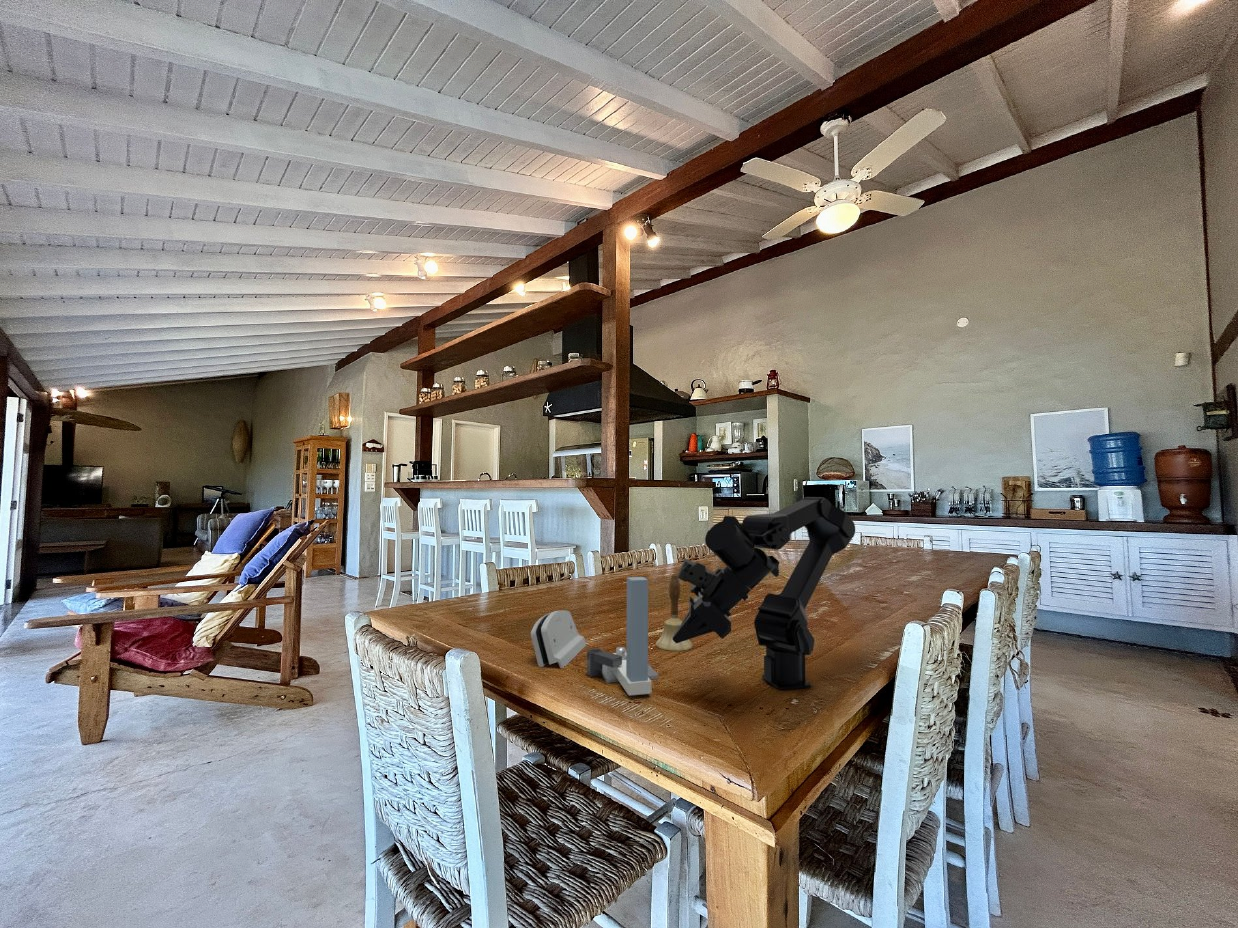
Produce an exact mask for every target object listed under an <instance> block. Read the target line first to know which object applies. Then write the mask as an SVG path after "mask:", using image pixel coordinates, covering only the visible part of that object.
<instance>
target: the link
mask: <svg viewBox="0 0 1238 928" xmlns="http://www.w3.org/2000/svg"><path fill="white" fill-rule="evenodd" d="M625 635H626V644H625V648H626V651H625V660H622V665H620V666H617V667H614V668H612V667H610V669H611V670H612V672H613V673H614V675H615V676H616V678H617V679H618V681H619V682H618V683H620V685H621V686H622V688H623V689H624V691H625V692H626V694H627V695H628V696H638V695H639V696H640V695H647V694H648V695H649V694H652V692H653V691H652V679H649V678H648V664H649V579H647V578H646V577H644V576H634V577H629V576H628V577H626V633H625ZM612 653H613V654H616V652H612Z"/></svg>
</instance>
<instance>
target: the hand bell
mask: <svg viewBox="0 0 1238 928" xmlns="http://www.w3.org/2000/svg"><path fill="white" fill-rule="evenodd" d="M668 585H669V586H668V593H669V594H668V595H669V599H670V603H671V604H670V605H671V606H670V617H669V618H668V619H665V620H664V623H663V631H662V634H661V636H660V637H659V638H658V639H657V641H656V642H655V646H656V647H657V648H659V649H661V650H664V651H671V652H683V651H688V650H691V649H692V648H693V642H691V641H690V639H688V640H685V641H683V642H680V643H675V642H674V641H673V639H672V637H673V636H674V634H675V632H676V631H677V629H678V628H679V626H680V625H681V623H682V621H683V620H681V619H680V618H679V600H680V596H681V583H680V579H679V578H678V575H677V574H676V573H675V574H671V577H670V581H669V584H668Z"/></svg>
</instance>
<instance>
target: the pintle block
mask: <svg viewBox="0 0 1238 928" xmlns="http://www.w3.org/2000/svg"><path fill="white" fill-rule="evenodd" d="M625 652H626V646H617V647H616V648H615V653H616V654H613V653H614V652H609V651H606V650H604V649H603V650H602V649H601V648H599V647H598V648H590V649H589V648H588V649H587V650H586V653H587V654H586V674H587V675H588V677H589V678H598V677H602V678H603V680H604V682H605V684H611V683H620V682H619V681H618V679H617V678H616V676H615V675H614V673H613V672H612V670H611V669H610V667H612V668H614V667H617V666H620V665H622V660H625ZM648 678H649V679H650V680H654V679H656V680H657V679H659V674H658V673H657V672H656V670H655V669H654V668H653V667H652V666H651V665H650V664H649V663H648Z"/></svg>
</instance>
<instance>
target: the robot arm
mask: <svg viewBox="0 0 1238 928" xmlns="http://www.w3.org/2000/svg"><path fill="white" fill-rule="evenodd" d="M801 528H805V529H806V531H807V532H806V533H807V536H808V539H809V542H808V543H807V546H806V547H805V549H804V551H803V553H802V555H801V556H800V558H799V560H798V562H797V563H796V565H795V568H794V569H793V571H791V574H790V576H789V578H788V580H787V581H786V584H785V586H784V587H783V589H782V591H781V592H780V593H779V594H776V593H771V592H769V593H767V594H766V595H765V596H764V599H763V600H762V603H761V604H760V606H757V611H758V612H757V613H756V615H755V617H754V622H753V623H754V630H755V633H756V638H757V642H758V645H759V646H761V647H765V655H764V656H763V673H762V674H761V678H762V679H763V680H764V681H766V682H768V684H770V685H772V686H773V687H774V688H776V689H778V690H780V691H783V690H784V691H785V690H792V689H793V690H794V689H802V688H803V689H804V688H811V687H812V684H811V683H810V682H809V681H808V680H806V677H807V675H806V673H807V672H806V656H810V655H812V652H814V647H815V638H814V636H813V634H812V633H811V632H810V630H809V629H808V617H807V613H806V608H807V606H808V604H809V602H810V599H811V598H812V596H813V594H814V593H815V590H816V588H817V586H818V584H819V582H820V581H821V578H822V576H823V575H824V573H825V570H826V568H827V567H828V564H829V562H830V561H831V559H832V557H833V556H834V555H836V554H837V553H839V552H841V551H843V550H845V549H846V548H847V547H848V545H849V544H850V542H851V541H852V540H853V538H854V536H855V534H856V524H855V522H854V521H853V519H852V518H851V517H850V516H849V514H848V513H847V512H846V511H844V510H843V509H840V508H839V507H837V506H835V505H834V504H832V503H831V502H830V501H829V499H827V498H825V497H821V496H819V497H818V496H817V497H816V496H805V497H802V498H800V499H799V501H796V502H794V503H792V504H790V505H788V506H786V507H783V508H782V509H779V510H776V511H775V512H773V513H758V514H751V515H747V516H745V517H743V520H742V522H741V523H740V521H739V520H738V518H737V517H736V516H734V515H725V516H723V517H722V520H721V521H719V522H717V523H715V524H714V525H712V527H711V528H710V529H709V530H707V532H706V534H705V537H704V542H705V545H706V547H707V548H708V549H709V550H710V551H711V552H712V553H713V554H714V555H715V556H716V557H717V558H718V559H720V561H721V562H722V563H724V565H725V567H723V568H722V567H718V568H717V569H715V570H714V571H712V570H710V569H708V568H707V567H706V565H705V564H703V563H700V562H699V561H695V562H694V561H692V560H689V559H687V558H684V560H683V562H682V564H681V566H680V568H679V570H678V572H677V574H676V575H678V579H679V580H681V581H682V582H687V583H689V584H692V585H691V587H690V588H689V592H690V593H692V594H695V596H696V597H694V598H692V597H691V596H689V597H688V604H689V605H688V606H689V607H688V611H687V613H686V615H685V617H684V618H683V620H682V623H681V625H680V626H679V628H678V629H677V631H676V632H675V634H674V636H673V637H672V639H673V641H674V642H675V643H680V642H683V641H685V640H691V639H694V638H697V637H700V636H704V635H707V634H710V633H713V632H714V633H715V634H716V635H718V637H719V638H720V639H722V640H724V639H725V638H726V637H727V636H728V635H729V634H730V633H731V632H732V621H731V619H730V616H731V615H732V613H731V611H732V609H733V608H735V606H737V605H738V604H739V603H740V602H741V601H742V600H743V601H744V602H745V601H746V600H748V598H749V595H748V594H749V593H750V592H751V591H752V590H753V589H754V588H755V587H756V586H757V585H758V584H759V583H760V582H761V581H763V579H764V578H765V577H766V576H768V574H769V573H771V575H773V576H774V577H775V578H776V577H777V578H778V577H779V574H780V569H779V568H780V567H779V566H780V560H778V559H777V558H776V557H775V556H773V555H768V554H767V553H766V552H765V551H764V550H773V551H778V550H781V549H783V547H785V546H786V545H787V544H788V543H789V542H790V541H791V534H792V533H795V532H796V531H798V530H800V529H801ZM763 549H764V550H763Z"/></svg>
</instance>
